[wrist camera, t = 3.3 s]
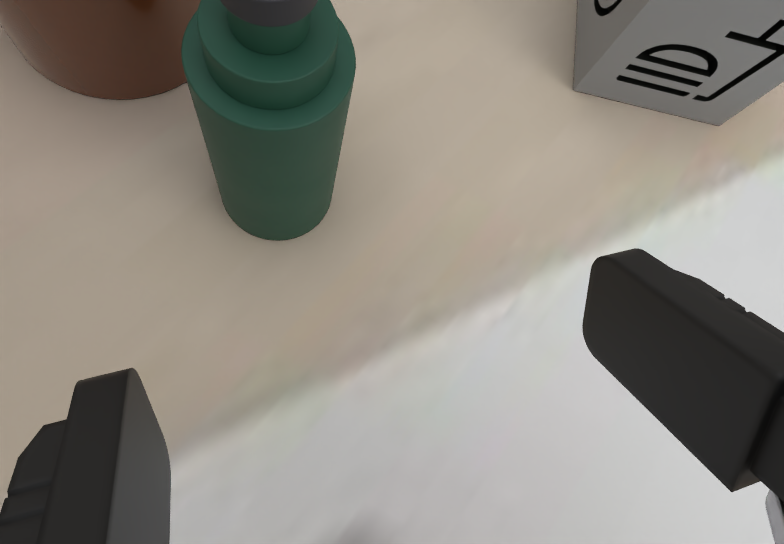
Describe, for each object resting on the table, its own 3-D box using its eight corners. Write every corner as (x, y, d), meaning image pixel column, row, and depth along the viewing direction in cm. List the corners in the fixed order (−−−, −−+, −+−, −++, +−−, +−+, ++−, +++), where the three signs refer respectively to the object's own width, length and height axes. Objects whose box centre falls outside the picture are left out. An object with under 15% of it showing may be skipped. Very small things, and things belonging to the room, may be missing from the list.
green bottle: (197, 190, 28) (99, -57, 13) (274, 121, 29) (260, -164, 15) (281, 262, 27) (272, 89, 13) (353, 188, 29) (415, -37, 15)
